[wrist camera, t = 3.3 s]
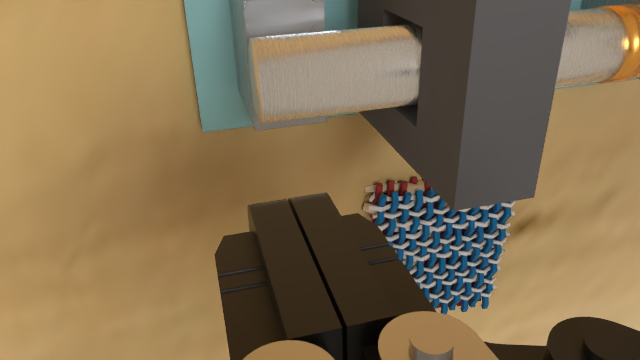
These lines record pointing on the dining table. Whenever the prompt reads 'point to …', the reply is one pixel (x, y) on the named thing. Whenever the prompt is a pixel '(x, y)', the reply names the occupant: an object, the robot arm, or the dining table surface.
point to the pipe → (388, 58)
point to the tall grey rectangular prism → (475, 94)
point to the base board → (219, 58)
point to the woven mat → (441, 241)
